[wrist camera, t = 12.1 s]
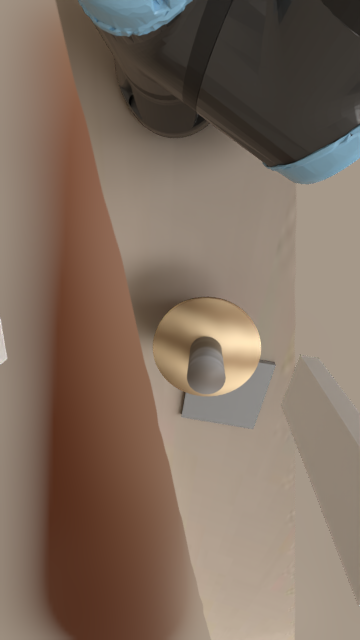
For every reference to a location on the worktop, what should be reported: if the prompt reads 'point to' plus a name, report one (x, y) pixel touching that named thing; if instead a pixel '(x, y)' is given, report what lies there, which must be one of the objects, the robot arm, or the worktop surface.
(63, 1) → the worktop surface
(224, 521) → the worktop surface
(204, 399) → the mat
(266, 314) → the worktop surface
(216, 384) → the lid
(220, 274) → the worktop surface
